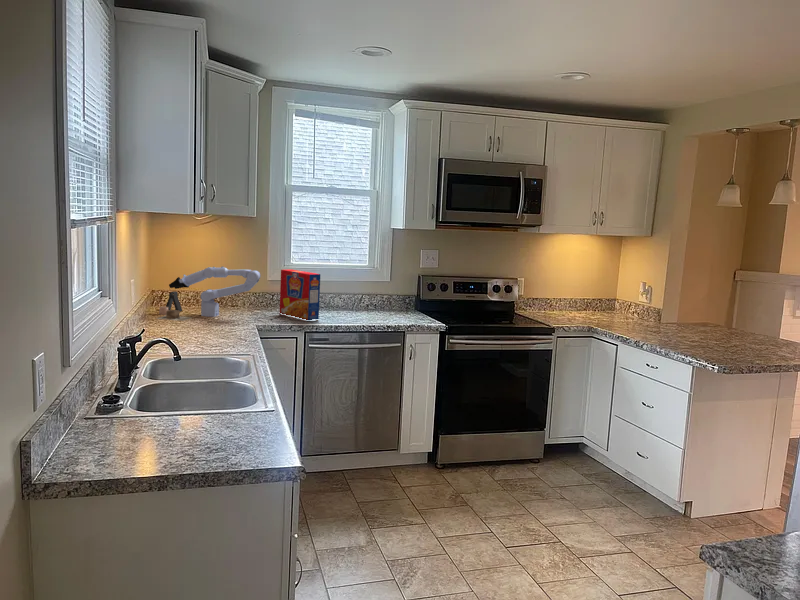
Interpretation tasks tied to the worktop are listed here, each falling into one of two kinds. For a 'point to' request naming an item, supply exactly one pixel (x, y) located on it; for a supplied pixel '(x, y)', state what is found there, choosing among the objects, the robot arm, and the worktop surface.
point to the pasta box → (300, 294)
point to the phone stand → (174, 299)
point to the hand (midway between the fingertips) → (172, 286)
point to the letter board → (175, 319)
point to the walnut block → (172, 314)
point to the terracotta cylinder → (163, 310)
